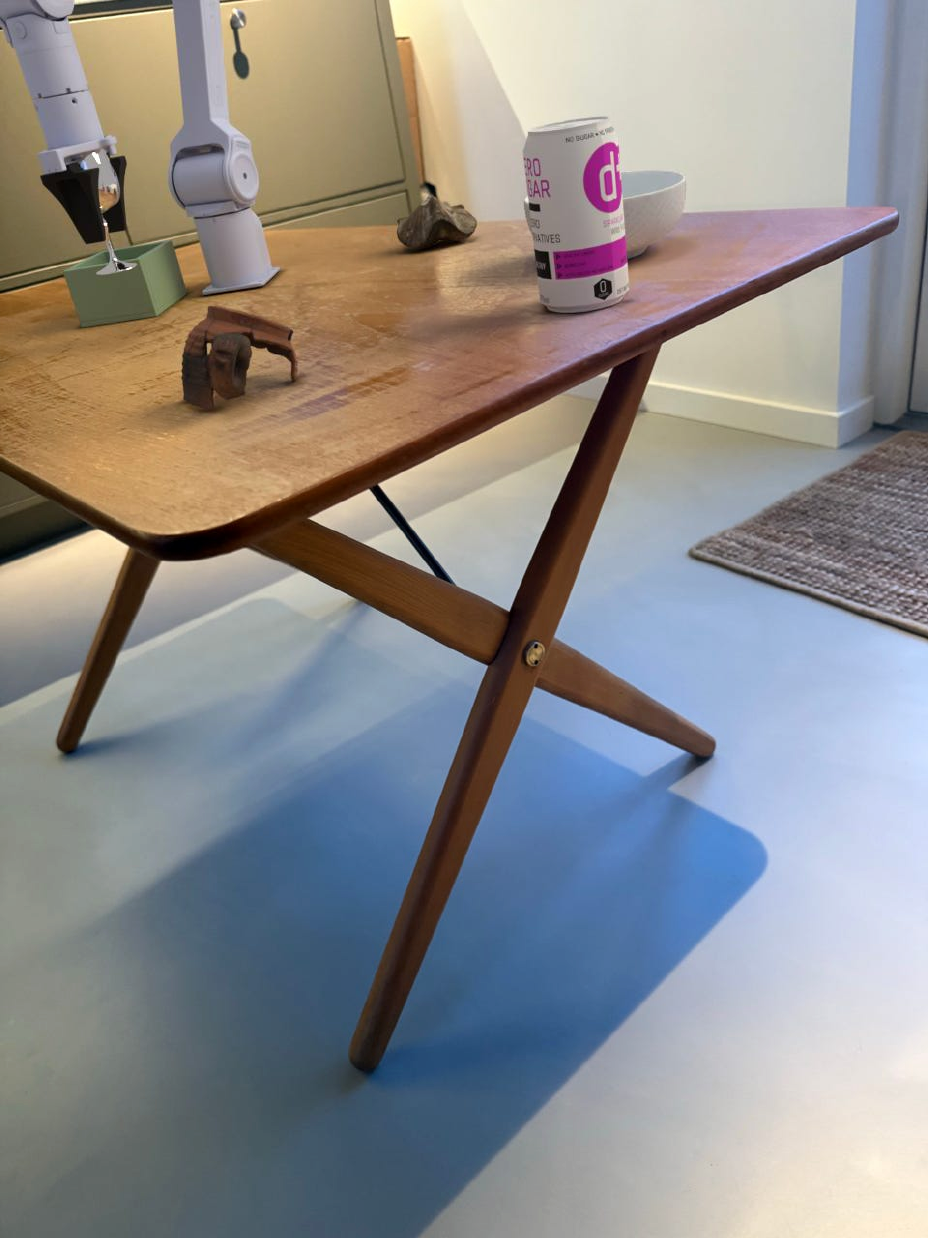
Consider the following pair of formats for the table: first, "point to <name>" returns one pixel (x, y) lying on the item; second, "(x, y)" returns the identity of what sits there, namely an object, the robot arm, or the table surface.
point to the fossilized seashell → (435, 224)
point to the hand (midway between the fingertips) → (106, 236)
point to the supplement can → (577, 214)
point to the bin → (126, 284)
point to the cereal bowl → (646, 206)
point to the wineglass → (105, 199)
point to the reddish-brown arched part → (228, 353)
